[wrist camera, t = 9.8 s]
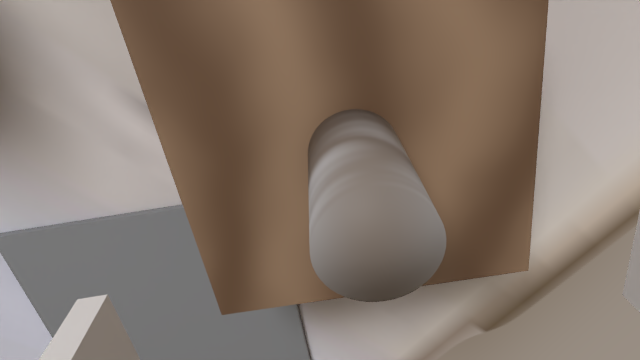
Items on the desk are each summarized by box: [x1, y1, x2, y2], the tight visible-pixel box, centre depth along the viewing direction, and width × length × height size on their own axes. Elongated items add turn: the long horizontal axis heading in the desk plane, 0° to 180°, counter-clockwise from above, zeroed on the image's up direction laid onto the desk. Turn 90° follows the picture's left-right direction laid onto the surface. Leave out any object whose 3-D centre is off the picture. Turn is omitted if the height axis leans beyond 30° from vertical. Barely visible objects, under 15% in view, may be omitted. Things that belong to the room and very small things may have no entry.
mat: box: [0, 205, 311, 360], centre depth 33 cm, size 19×19×1 cm
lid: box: [110, 0, 548, 315], centre depth 16 cm, size 16×16×8 cm
